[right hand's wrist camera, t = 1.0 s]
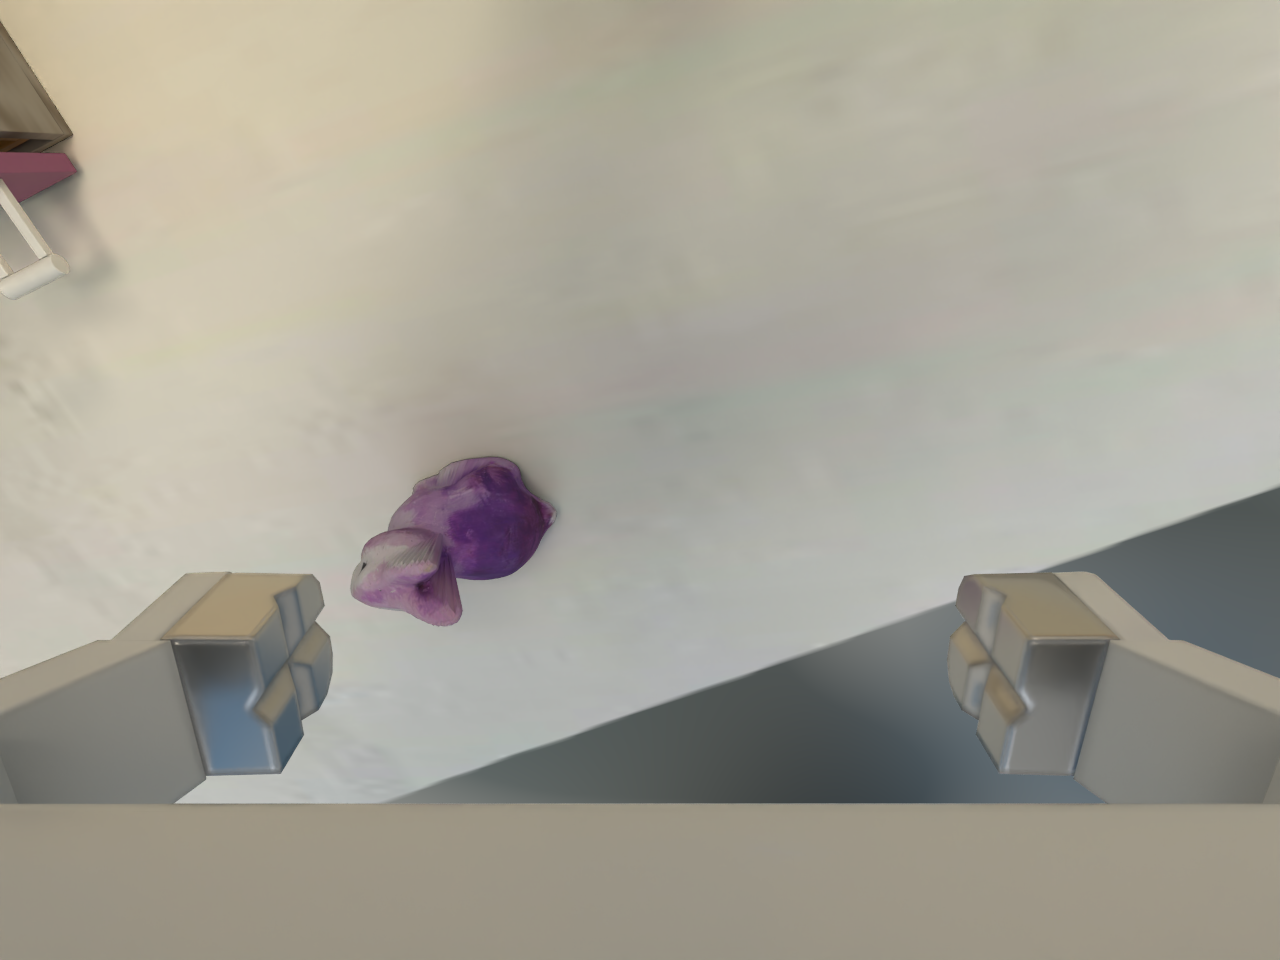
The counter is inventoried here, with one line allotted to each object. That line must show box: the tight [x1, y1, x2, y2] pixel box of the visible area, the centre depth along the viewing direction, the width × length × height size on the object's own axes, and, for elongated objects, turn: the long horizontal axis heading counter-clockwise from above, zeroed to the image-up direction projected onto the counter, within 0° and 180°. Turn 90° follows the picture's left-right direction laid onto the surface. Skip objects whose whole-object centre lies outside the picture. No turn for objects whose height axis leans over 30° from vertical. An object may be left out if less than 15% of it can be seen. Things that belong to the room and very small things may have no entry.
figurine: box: [350, 457, 557, 626], centre depth 51 cm, size 9×10×15 cm
